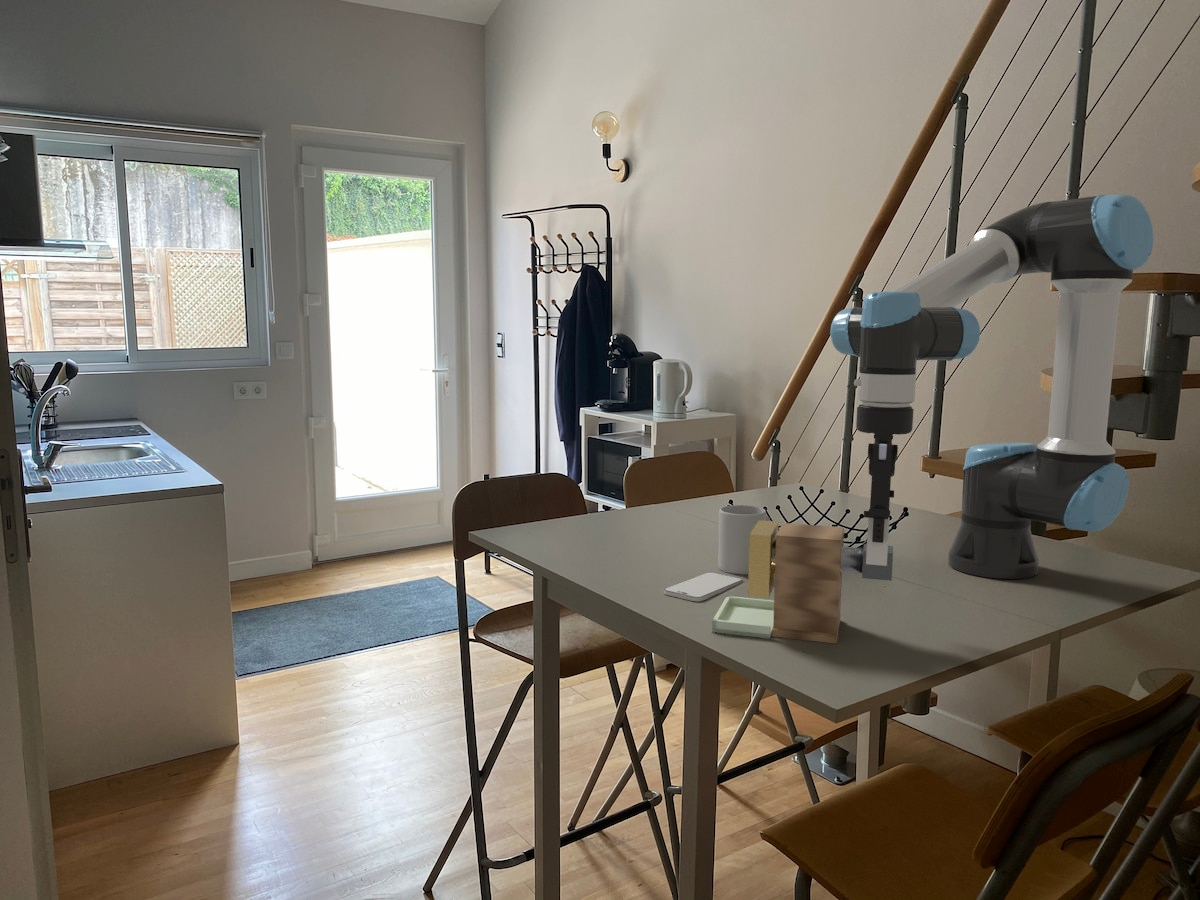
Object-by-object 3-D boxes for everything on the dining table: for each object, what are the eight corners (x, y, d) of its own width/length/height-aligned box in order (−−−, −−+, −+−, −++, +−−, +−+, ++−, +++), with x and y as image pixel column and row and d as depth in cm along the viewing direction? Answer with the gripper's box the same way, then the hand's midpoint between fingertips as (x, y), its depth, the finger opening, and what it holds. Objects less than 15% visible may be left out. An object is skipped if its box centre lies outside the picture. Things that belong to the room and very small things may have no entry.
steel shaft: (891, 572, 128) (892, 546, 127) (891, 580, 124) (892, 553, 124) (753, 561, 134) (753, 535, 133) (749, 568, 130) (749, 541, 130)
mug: (744, 577, 156) (745, 517, 155) (708, 567, 163) (709, 509, 161) (786, 565, 164) (787, 507, 162) (750, 555, 170) (751, 500, 169)
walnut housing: (840, 620, 134) (844, 525, 132) (836, 643, 125) (840, 541, 123) (780, 614, 137) (783, 521, 135) (772, 636, 128) (775, 536, 125)
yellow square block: (776, 579, 136) (778, 521, 135) (768, 597, 127) (770, 535, 126) (757, 578, 137) (758, 520, 136) (748, 595, 128) (749, 534, 127)
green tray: (779, 612, 138) (780, 601, 138) (769, 638, 127) (770, 626, 127) (726, 606, 141) (726, 595, 140) (712, 632, 129) (712, 620, 129)
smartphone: (744, 579, 154) (698, 598, 143) (744, 585, 154) (698, 604, 143) (708, 571, 159) (661, 589, 147) (708, 577, 159) (661, 596, 147)
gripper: (860, 396, 136) (853, 530, 139) (853, 411, 112) (845, 572, 115) (911, 397, 134) (903, 534, 137) (916, 413, 110) (906, 578, 113)
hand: (877, 552), depth 126 cm, fingers open, 13 cm apart
